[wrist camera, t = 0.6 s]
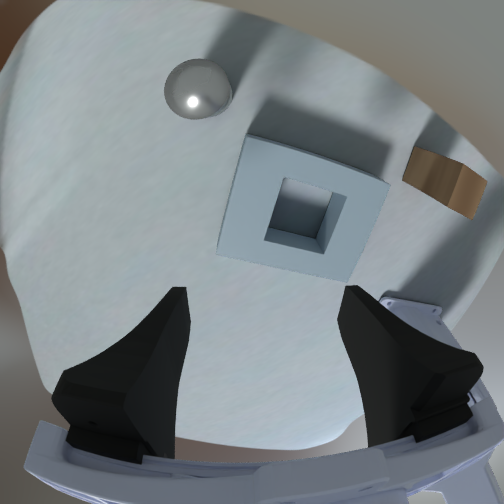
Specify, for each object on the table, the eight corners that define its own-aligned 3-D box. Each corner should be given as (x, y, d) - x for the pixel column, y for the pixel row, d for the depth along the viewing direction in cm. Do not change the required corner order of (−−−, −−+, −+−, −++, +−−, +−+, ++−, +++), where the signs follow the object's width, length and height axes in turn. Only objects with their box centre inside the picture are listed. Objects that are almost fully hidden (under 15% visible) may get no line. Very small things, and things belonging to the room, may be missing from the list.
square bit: (439, 160, 19) (487, 181, 13) (427, 192, 20) (472, 220, 15) (414, 146, 18) (463, 163, 13) (402, 180, 20) (447, 206, 14)
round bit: (237, 79, 16) (236, 65, 11) (225, 121, 17) (219, 125, 12) (193, 70, 15) (173, 54, 10) (182, 112, 17) (157, 113, 12)
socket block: (375, 175, 19) (390, 184, 17) (337, 265, 23) (347, 282, 21) (245, 133, 18) (246, 136, 16) (218, 238, 21) (215, 254, 19)
